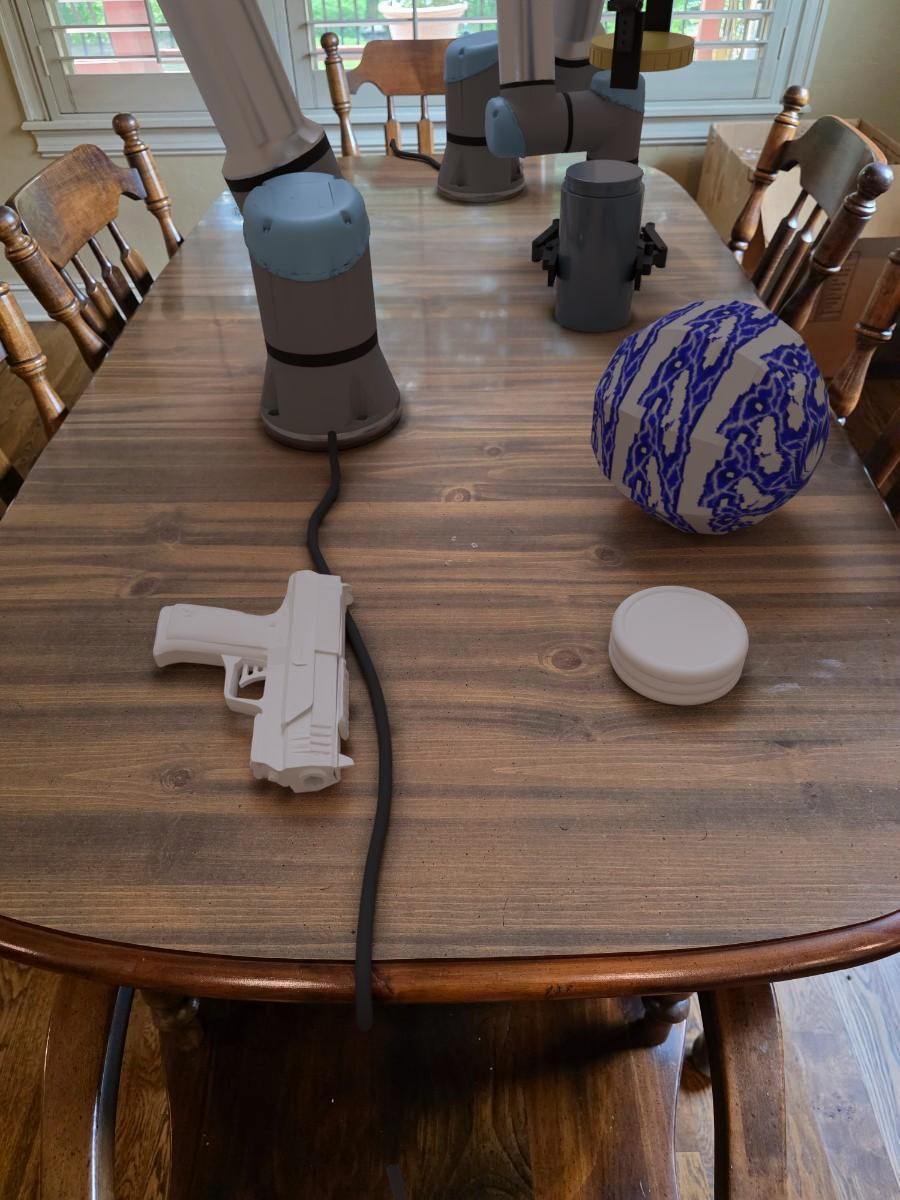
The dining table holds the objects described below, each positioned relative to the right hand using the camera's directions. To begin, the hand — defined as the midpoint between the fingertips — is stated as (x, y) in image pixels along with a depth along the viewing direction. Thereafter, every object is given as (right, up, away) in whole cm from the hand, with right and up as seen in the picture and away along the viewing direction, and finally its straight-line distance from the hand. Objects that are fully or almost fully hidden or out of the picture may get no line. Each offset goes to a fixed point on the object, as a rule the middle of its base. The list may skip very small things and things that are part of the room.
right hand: (593, 278), depth 105 cm
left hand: (+2, +16, -14) cm, 21 cm away
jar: (+1, -2, +8) cm, 8 cm away
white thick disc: (0, -44, -39) cm, 59 cm away
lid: (+2, +18, -16) cm, 24 cm away
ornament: (+5, -31, -24) cm, 39 cm away
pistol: (-32, -46, -40) cm, 69 cm away
